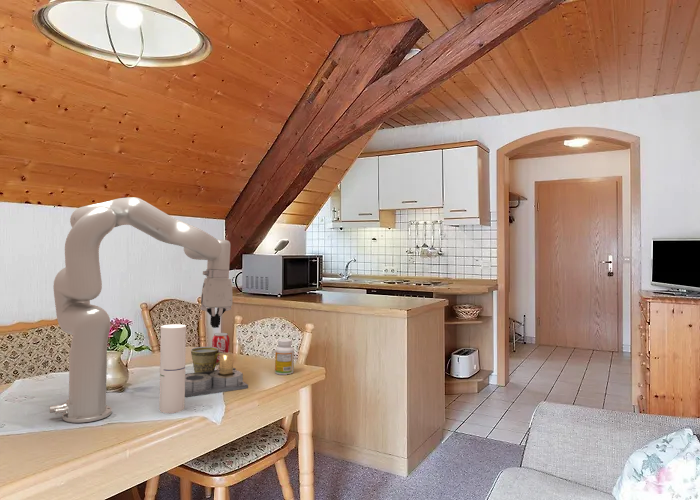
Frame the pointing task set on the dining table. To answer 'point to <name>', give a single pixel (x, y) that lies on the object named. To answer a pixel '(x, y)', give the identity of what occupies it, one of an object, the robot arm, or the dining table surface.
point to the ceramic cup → (204, 358)
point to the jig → (212, 382)
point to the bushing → (226, 364)
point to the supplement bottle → (284, 357)
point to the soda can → (221, 343)
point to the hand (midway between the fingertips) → (215, 327)
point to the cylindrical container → (172, 368)
